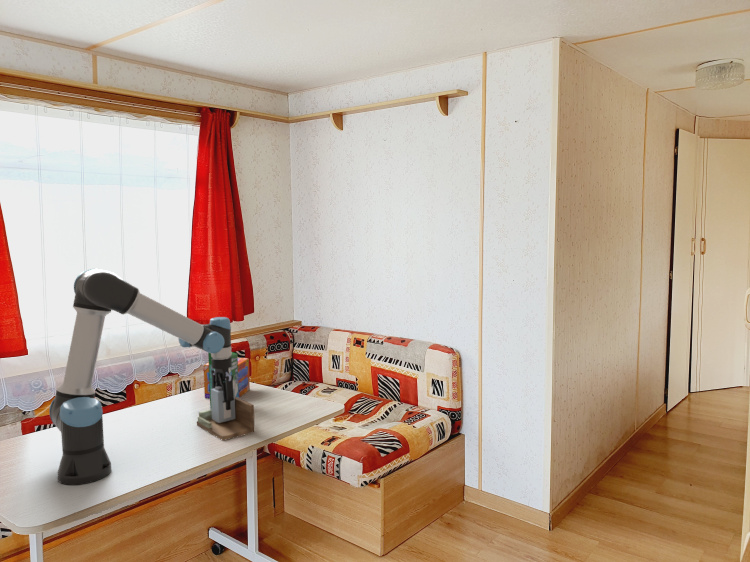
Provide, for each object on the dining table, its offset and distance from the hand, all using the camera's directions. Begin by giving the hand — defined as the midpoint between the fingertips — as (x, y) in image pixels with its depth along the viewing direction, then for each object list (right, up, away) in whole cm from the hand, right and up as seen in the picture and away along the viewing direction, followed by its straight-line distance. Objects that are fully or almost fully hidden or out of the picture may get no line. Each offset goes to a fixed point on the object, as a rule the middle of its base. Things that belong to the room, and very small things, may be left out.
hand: (223, 415), depth 225 cm
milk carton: (-5, -2, +23) cm, 24 cm away
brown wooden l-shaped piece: (+1, -4, -3) cm, 5 cm away
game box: (-9, 0, +42) cm, 43 cm away
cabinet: (0, -1, 0) cm, 1 cm away
